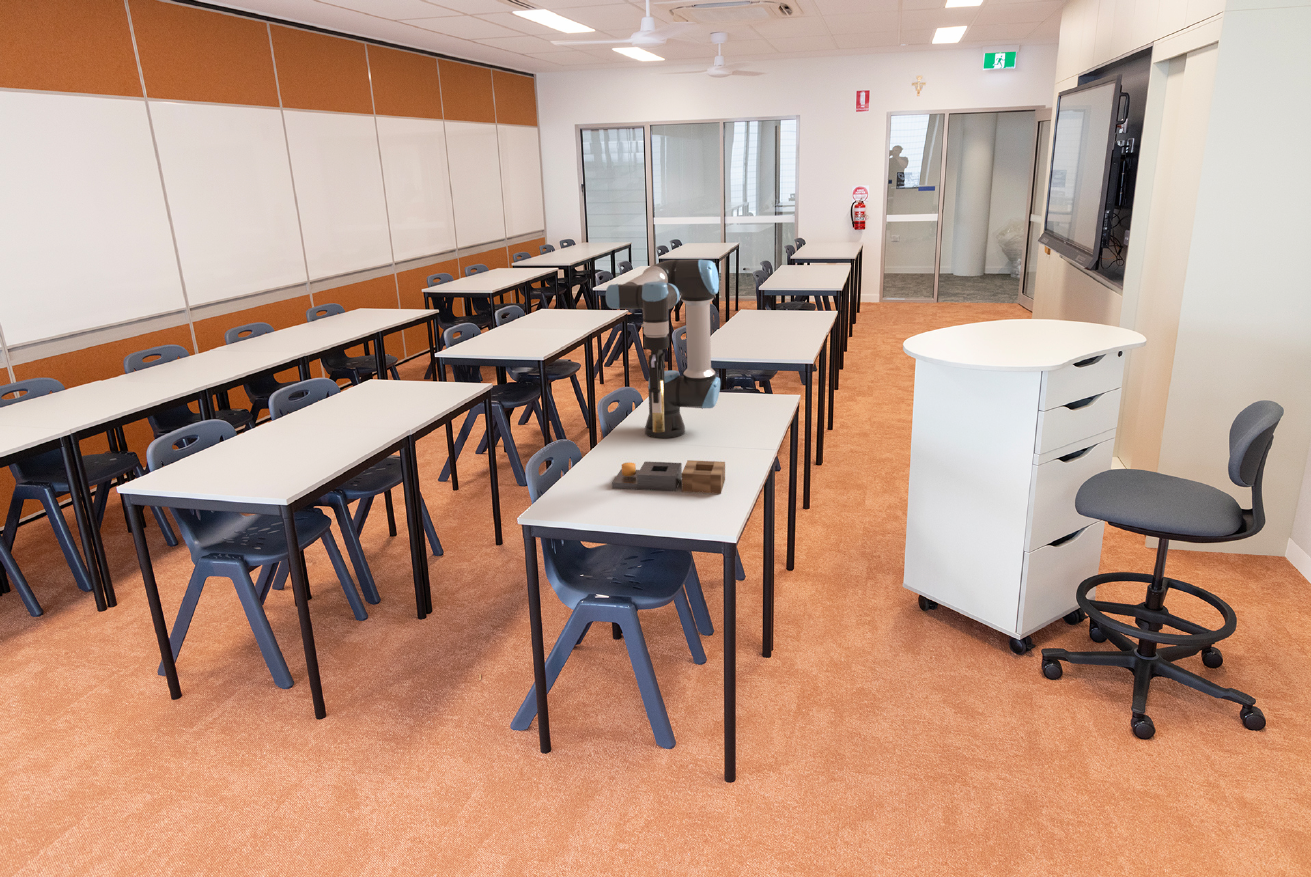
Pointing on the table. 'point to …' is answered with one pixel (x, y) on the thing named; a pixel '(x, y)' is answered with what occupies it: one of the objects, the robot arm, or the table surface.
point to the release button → (628, 469)
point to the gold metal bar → (659, 414)
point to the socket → (651, 477)
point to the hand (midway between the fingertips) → (658, 410)
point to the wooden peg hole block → (703, 476)
